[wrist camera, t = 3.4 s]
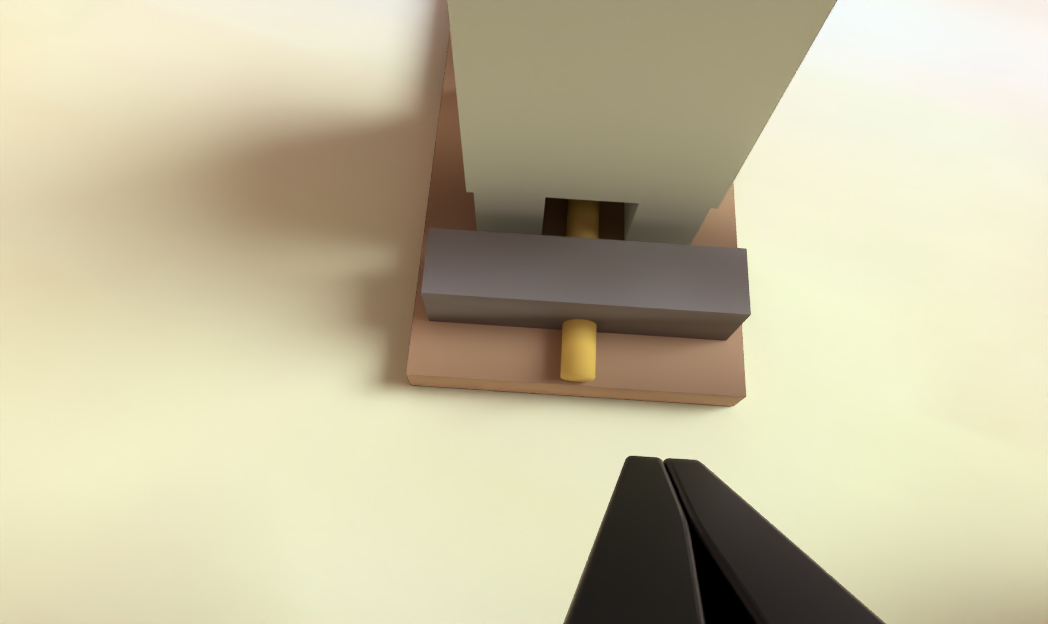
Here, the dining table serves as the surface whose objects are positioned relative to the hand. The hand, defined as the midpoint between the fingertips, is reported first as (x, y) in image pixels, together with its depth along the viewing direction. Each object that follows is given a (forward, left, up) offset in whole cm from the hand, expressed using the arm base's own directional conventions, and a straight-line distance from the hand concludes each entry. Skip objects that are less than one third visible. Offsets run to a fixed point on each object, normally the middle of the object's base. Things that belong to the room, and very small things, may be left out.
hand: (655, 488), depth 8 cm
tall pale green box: (+11, +5, -11) cm, 16 cm away
